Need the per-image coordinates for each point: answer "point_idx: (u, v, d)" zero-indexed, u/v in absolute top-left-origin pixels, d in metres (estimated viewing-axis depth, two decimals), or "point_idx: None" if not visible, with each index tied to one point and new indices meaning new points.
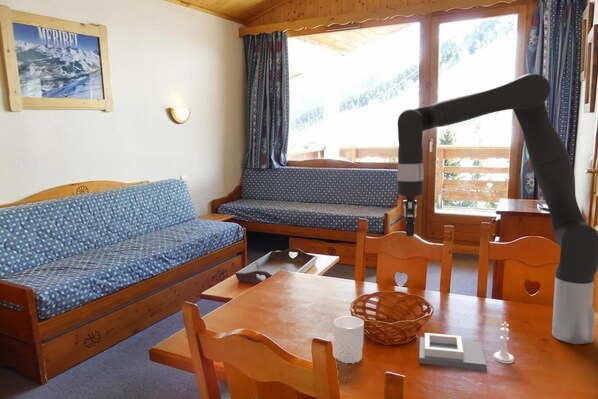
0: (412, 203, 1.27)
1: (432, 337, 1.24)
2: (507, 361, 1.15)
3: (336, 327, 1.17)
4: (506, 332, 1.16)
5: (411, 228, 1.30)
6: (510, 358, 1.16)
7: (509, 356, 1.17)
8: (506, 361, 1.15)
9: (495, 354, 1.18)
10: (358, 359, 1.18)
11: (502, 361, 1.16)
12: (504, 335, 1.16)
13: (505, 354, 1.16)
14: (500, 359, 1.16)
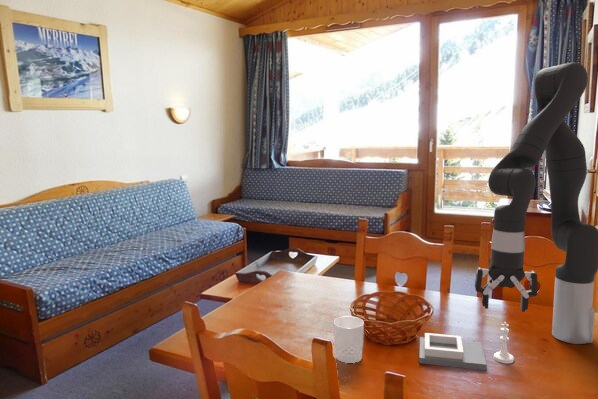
0: None
1: (432, 337, 1.24)
2: (507, 361, 1.15)
3: (336, 327, 1.17)
4: (506, 332, 1.16)
5: None
6: (510, 358, 1.16)
7: (509, 356, 1.17)
8: (506, 361, 1.15)
9: (495, 354, 1.18)
10: (358, 359, 1.18)
11: (502, 361, 1.16)
12: (504, 335, 1.16)
13: (505, 354, 1.16)
14: (500, 359, 1.16)
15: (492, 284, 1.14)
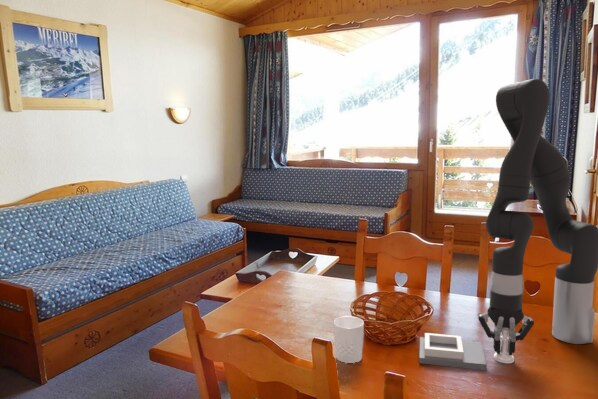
0: None
1: (432, 337, 1.24)
2: (508, 361, 1.15)
3: (336, 327, 1.17)
4: (506, 332, 1.16)
5: None
6: (510, 358, 1.16)
7: (509, 356, 1.16)
8: (506, 361, 1.15)
9: (495, 354, 1.18)
10: (358, 359, 1.18)
11: (502, 361, 1.16)
12: (504, 335, 1.16)
13: (505, 354, 1.16)
14: (500, 359, 1.16)
15: (497, 328, 1.15)
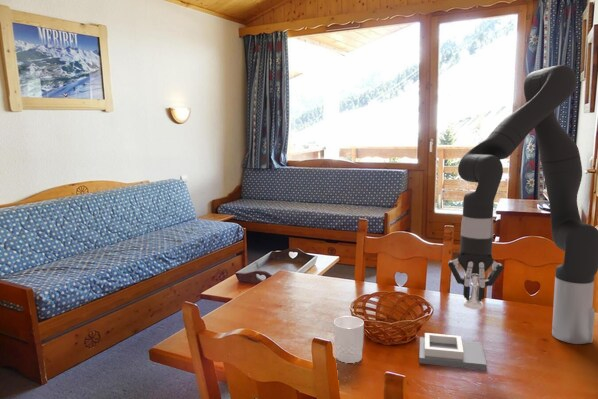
0: None
1: (432, 337, 1.24)
2: (477, 307, 1.15)
3: (336, 327, 1.17)
4: (476, 278, 1.15)
5: None
6: (480, 304, 1.15)
7: (479, 302, 1.16)
8: (475, 307, 1.14)
9: (465, 301, 1.17)
10: (358, 359, 1.18)
11: (471, 307, 1.15)
12: (474, 281, 1.15)
13: (475, 300, 1.16)
14: (469, 305, 1.15)
15: (467, 274, 1.14)
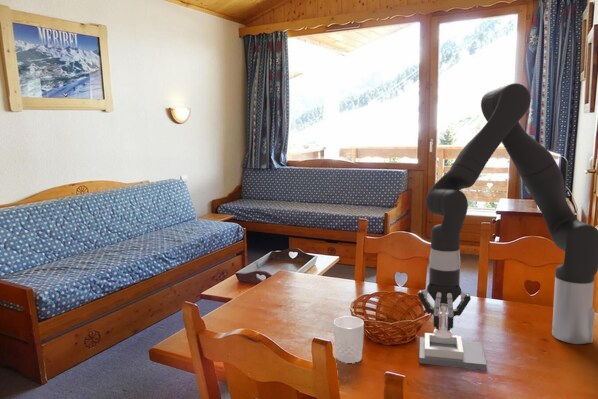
0: (469, 296, 1.17)
1: (432, 337, 1.24)
2: (446, 336, 1.18)
3: (336, 327, 1.17)
4: (444, 308, 1.18)
5: (452, 320, 1.19)
6: (449, 333, 1.18)
7: (448, 331, 1.19)
8: (444, 336, 1.18)
9: (435, 330, 1.21)
10: (358, 359, 1.18)
11: (440, 336, 1.18)
12: (443, 311, 1.19)
13: (444, 329, 1.19)
14: (439, 334, 1.18)
15: (436, 304, 1.18)
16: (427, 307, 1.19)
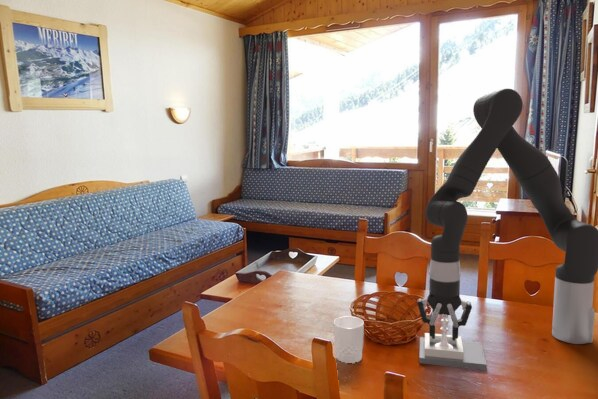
0: None
1: None
2: None
3: (336, 327, 1.17)
4: (445, 323, 1.18)
5: (457, 330, 1.19)
6: (449, 348, 1.19)
7: (448, 346, 1.19)
8: None
9: (436, 344, 1.21)
10: (358, 359, 1.18)
11: None
12: (444, 326, 1.19)
13: (445, 344, 1.19)
14: None
15: (434, 314, 1.18)
16: (424, 316, 1.19)
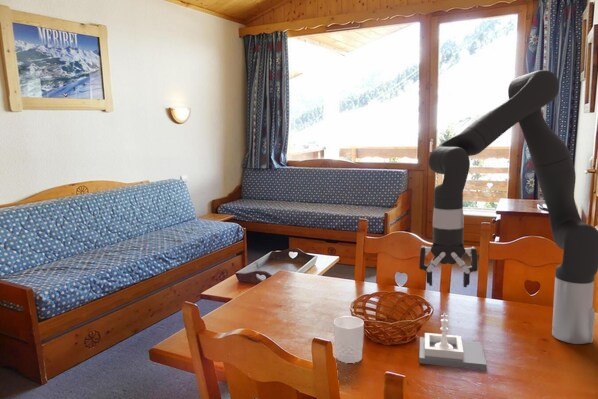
0: None
1: (432, 337, 1.24)
2: None
3: (336, 327, 1.17)
4: (445, 323, 1.18)
5: None
6: (449, 348, 1.19)
7: (448, 346, 1.19)
8: None
9: (436, 344, 1.21)
10: (358, 359, 1.18)
11: None
12: (444, 326, 1.19)
13: (445, 344, 1.19)
14: None
15: (434, 261, 1.17)
16: (422, 263, 1.18)
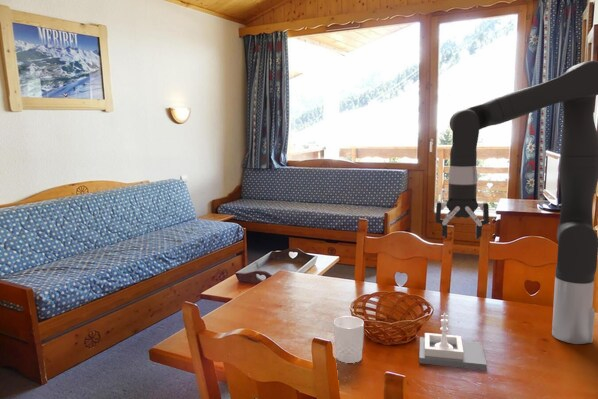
0: None
1: (432, 337, 1.24)
2: None
3: (336, 327, 1.17)
4: (445, 323, 1.18)
5: None
6: (449, 348, 1.19)
7: (448, 346, 1.19)
8: None
9: (436, 344, 1.21)
10: (358, 359, 1.18)
11: None
12: (444, 326, 1.19)
13: (445, 344, 1.19)
14: None
15: (449, 215, 1.29)
16: (438, 217, 1.30)
